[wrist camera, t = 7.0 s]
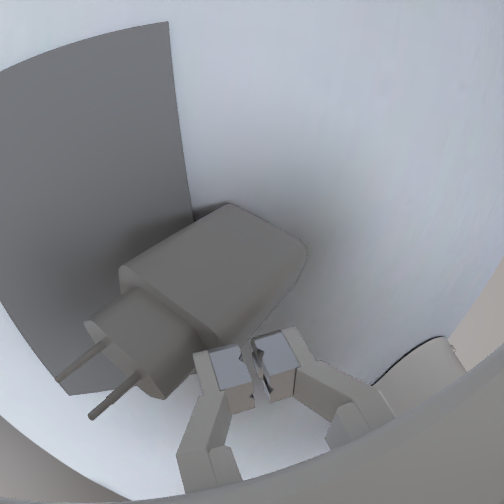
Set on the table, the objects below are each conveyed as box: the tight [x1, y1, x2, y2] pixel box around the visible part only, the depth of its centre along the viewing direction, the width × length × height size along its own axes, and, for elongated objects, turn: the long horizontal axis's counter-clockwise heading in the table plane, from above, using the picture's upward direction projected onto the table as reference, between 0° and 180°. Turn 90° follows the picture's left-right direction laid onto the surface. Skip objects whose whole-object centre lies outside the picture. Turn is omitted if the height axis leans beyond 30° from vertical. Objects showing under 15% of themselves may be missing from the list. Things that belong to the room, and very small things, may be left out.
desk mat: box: [0, 21, 197, 396], centre depth 16 cm, size 24×14×1 cm, turn 3°
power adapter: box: [55, 204, 308, 420], centre depth 13 cm, size 3×5×12 cm
